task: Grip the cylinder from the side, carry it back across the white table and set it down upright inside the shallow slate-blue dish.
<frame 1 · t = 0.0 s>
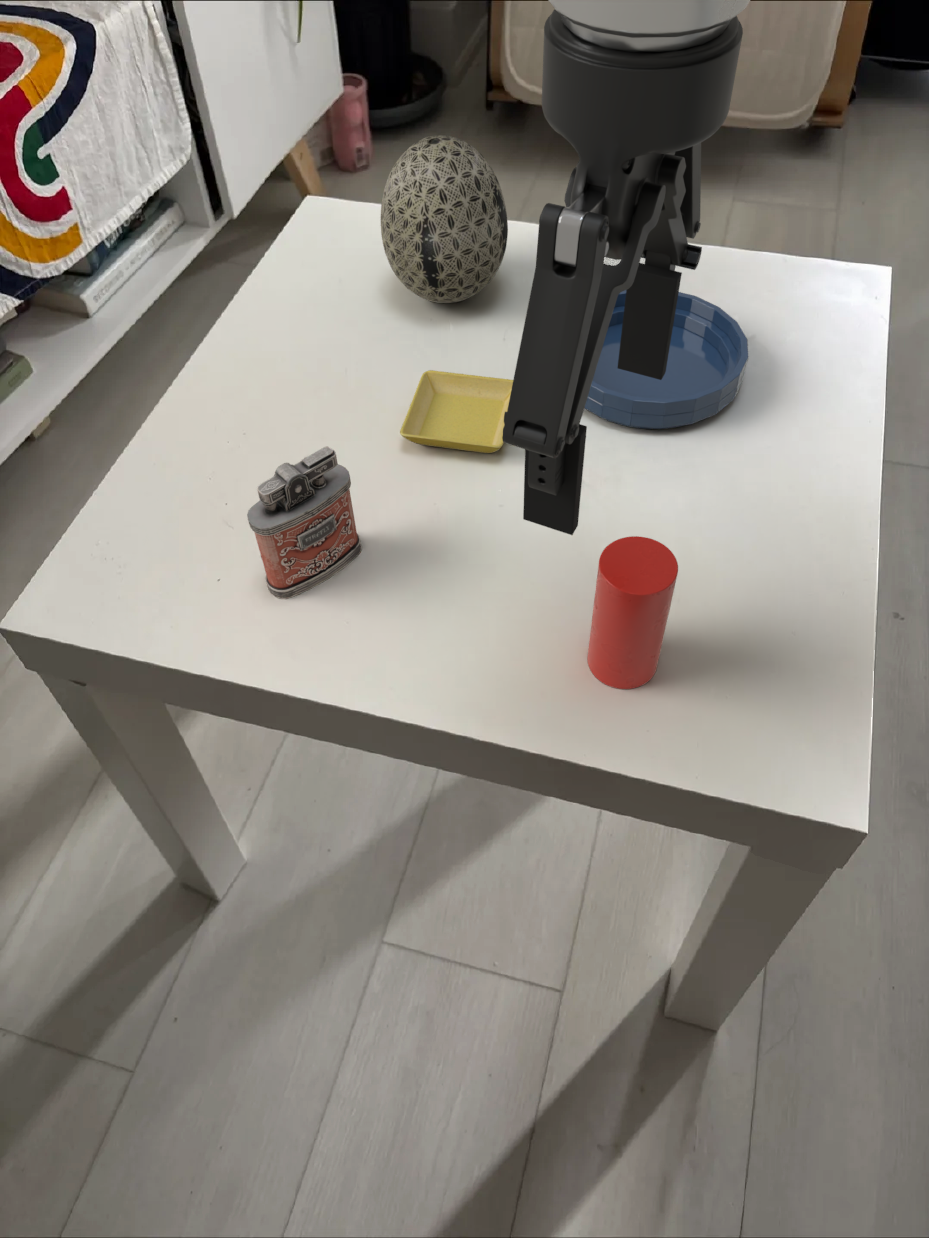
hand: (599, 441, 53), 19 cm above the table, tool pointing down, fingers open, 13 cm apart
lighter: (315, 568, 73), on the table
decorative egg: (447, 295, 95), on the table
saucer: (462, 427, 83), on the table
cylinder: (622, 660, 67), on the table
dish: (647, 375, 86), on the table
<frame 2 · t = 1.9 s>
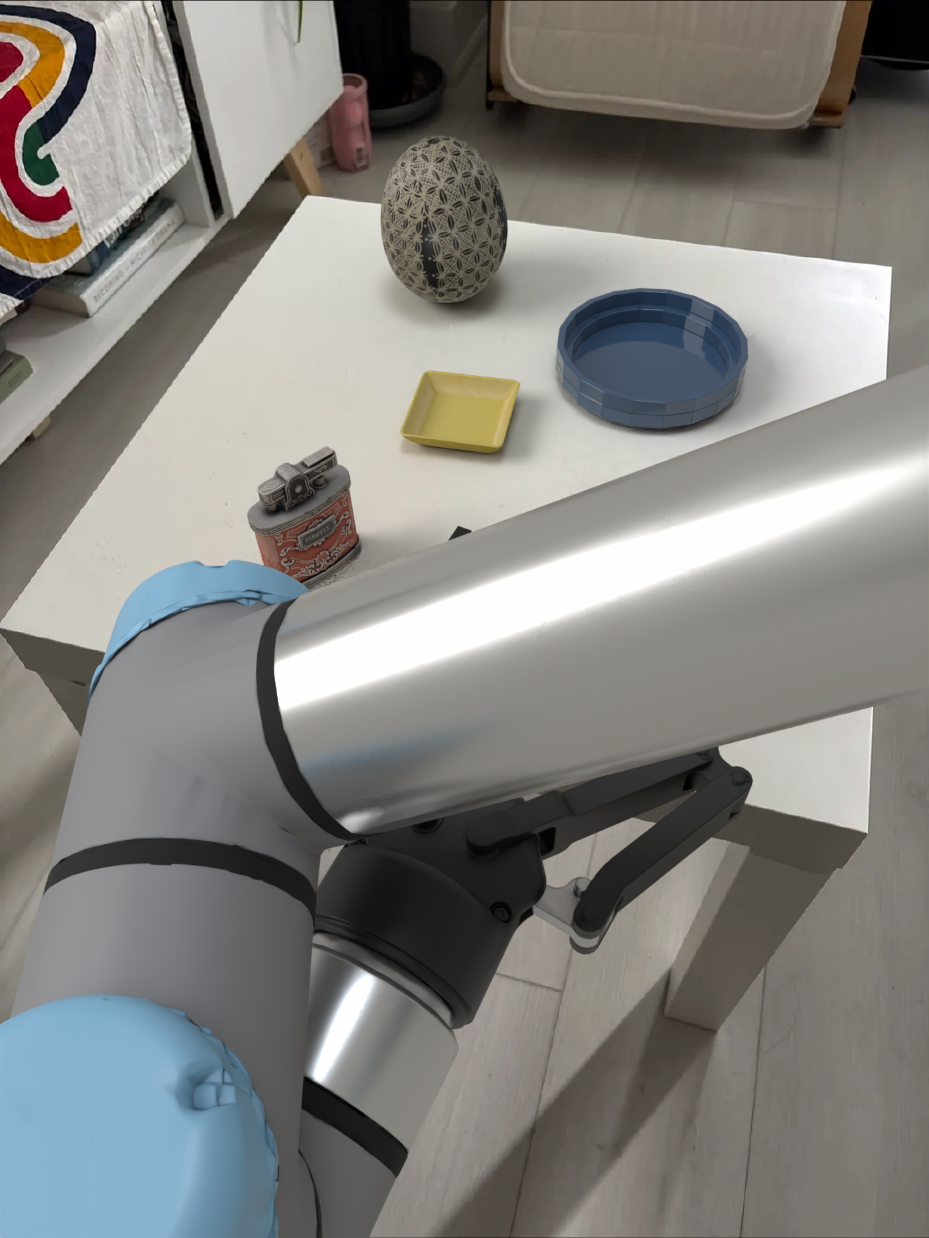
hand: (589, 588, 48), 18 cm above the table, tool horizontal, fingers open, 13 cm apart
nothing on the table moved.
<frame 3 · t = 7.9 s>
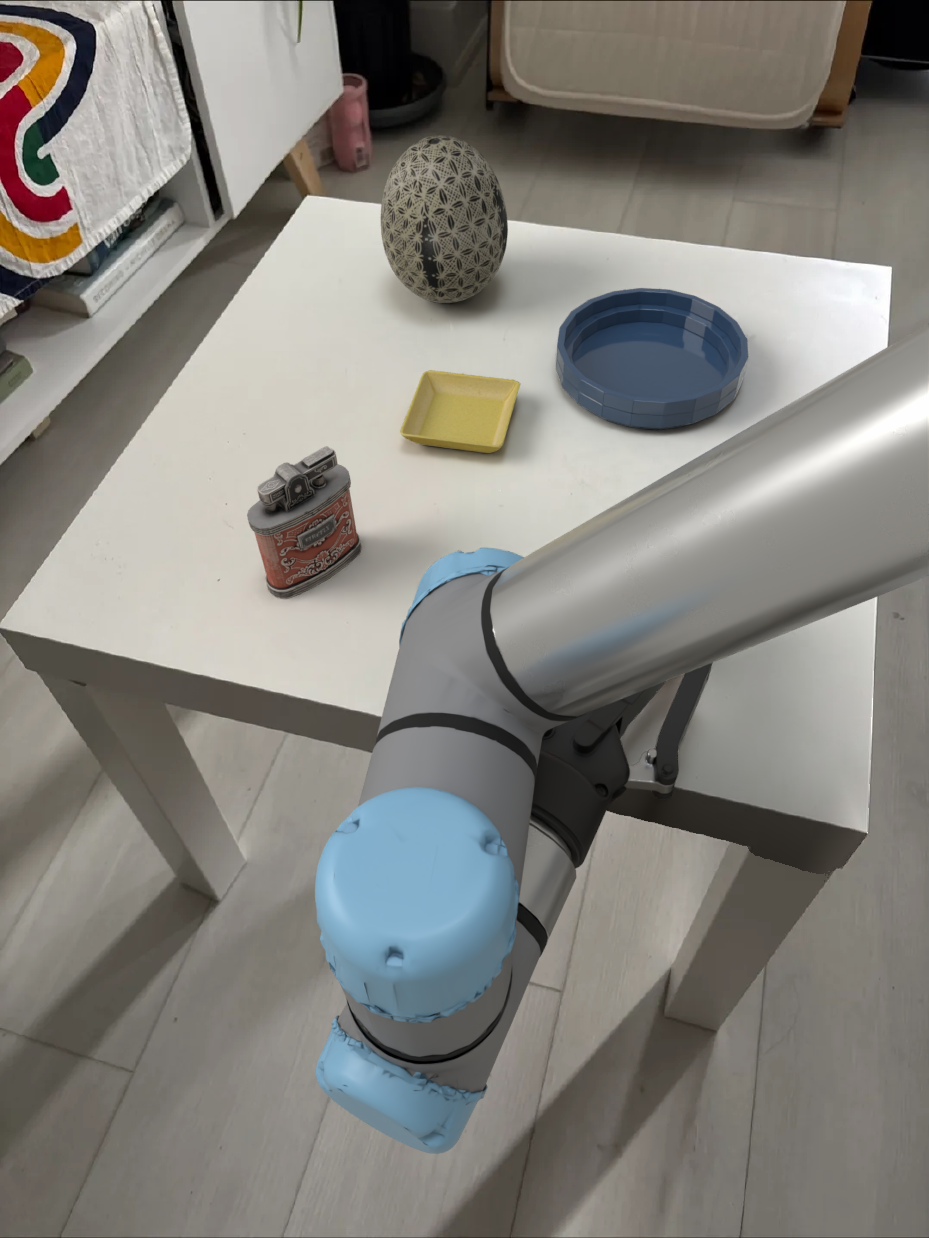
hand: (658, 550, 65), 6 cm above the table, tool horizontal, fingers closed on cylinder, 5 cm apart
cylinder: (622, 660, 67), on the table, touching gripper
everything else where it was.
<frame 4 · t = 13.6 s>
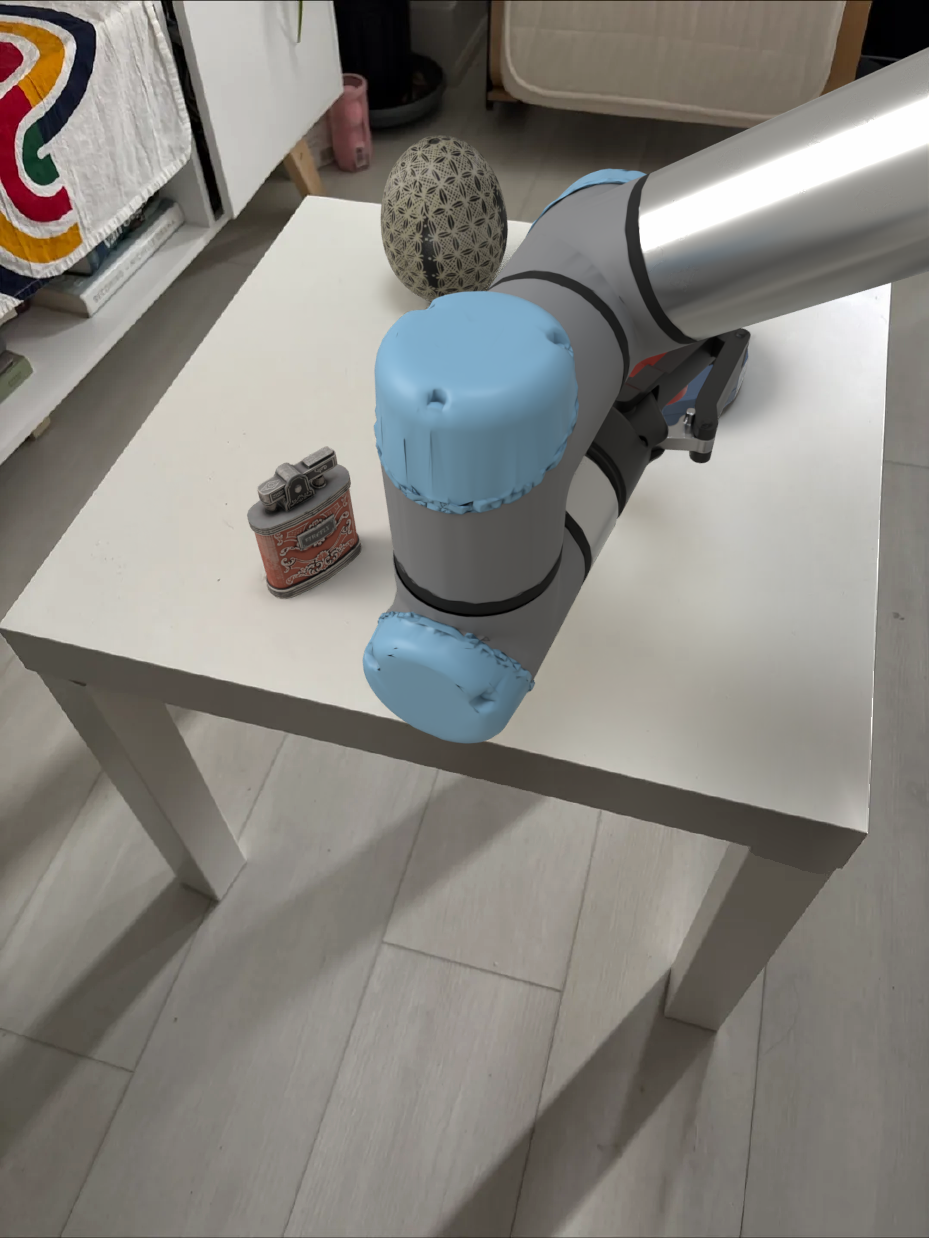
hand: (689, 266, 65), 18 cm above the table, tool horizontal, fingers closed on cylinder, 5 cm apart
cylinder: (652, 384, 67), point 12 cm above the table, touching gripper
everything else where it was.
when the fingers open (7 cm above the table, at t = 19.6 s): cylinder stays where it is, resting on dish.
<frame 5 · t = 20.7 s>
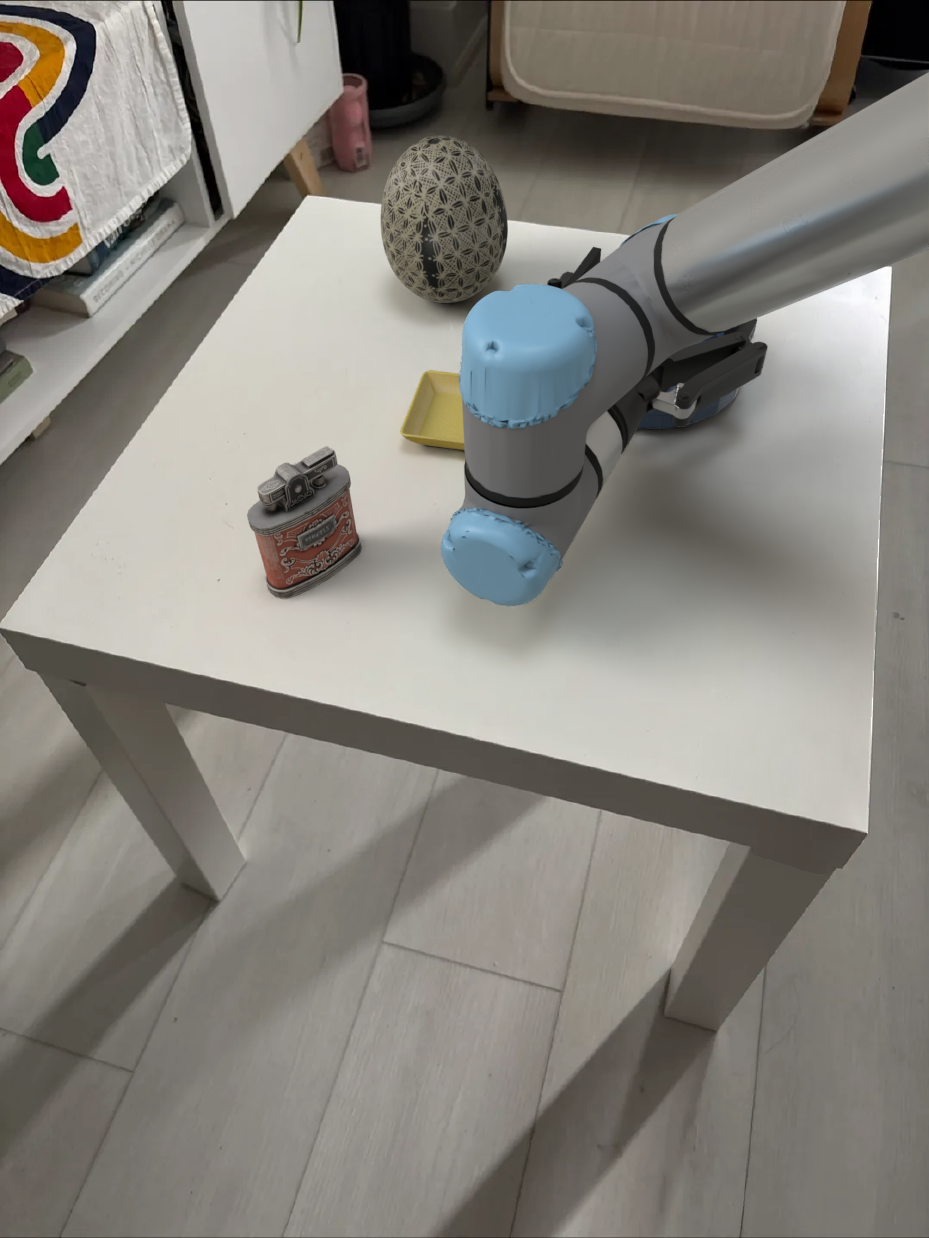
hand: (671, 279, 82), 8 cm above the table, tool horizontal, fingers open, 13 cm apart
cylinder: (648, 367, 86), point 1 cm above the table, touching dish
everything else where it was.
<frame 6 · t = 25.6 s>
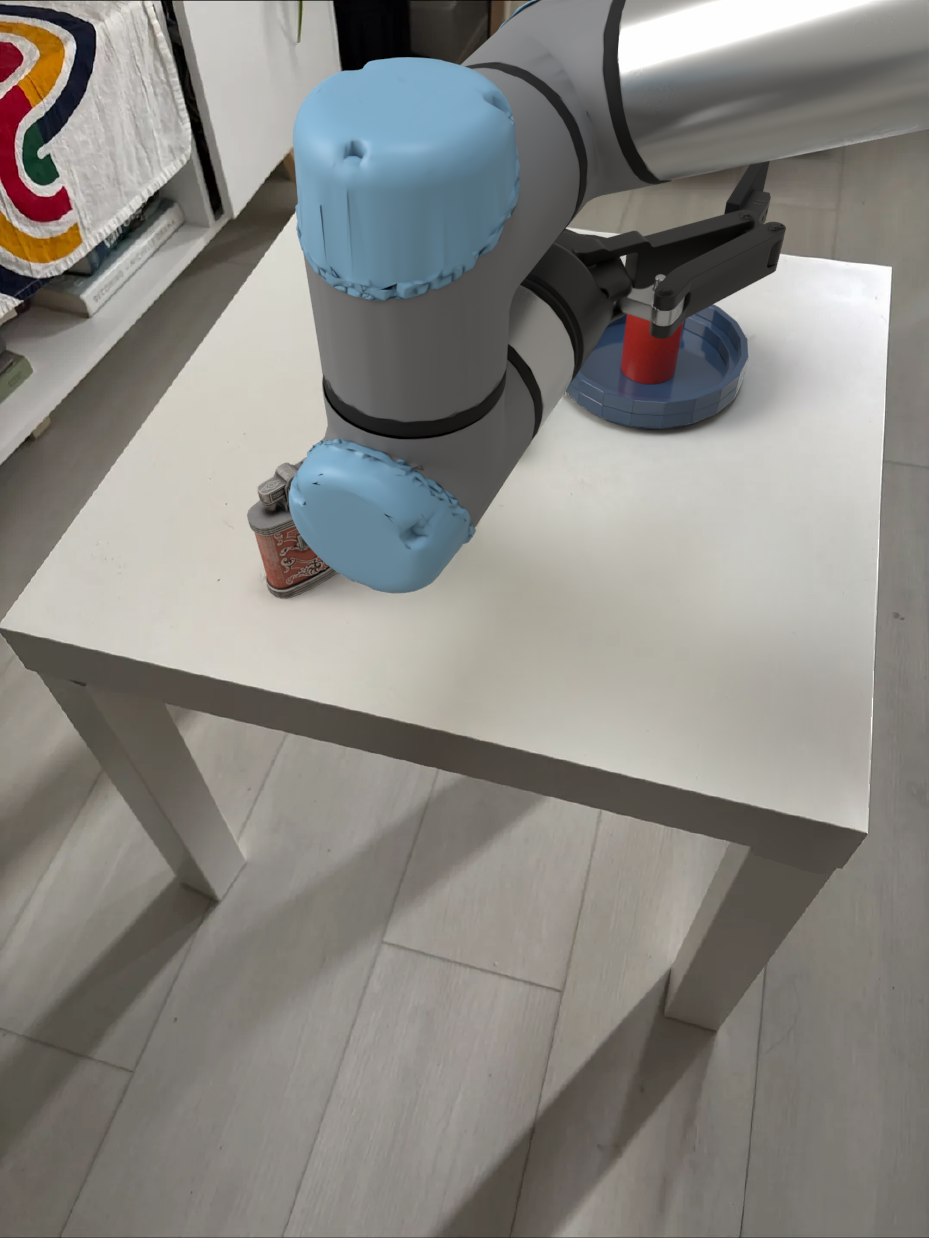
hand: (653, 152, 60), 25 cm above the table, tool horizontal, fingers open, 13 cm apart
nothing on the table moved.
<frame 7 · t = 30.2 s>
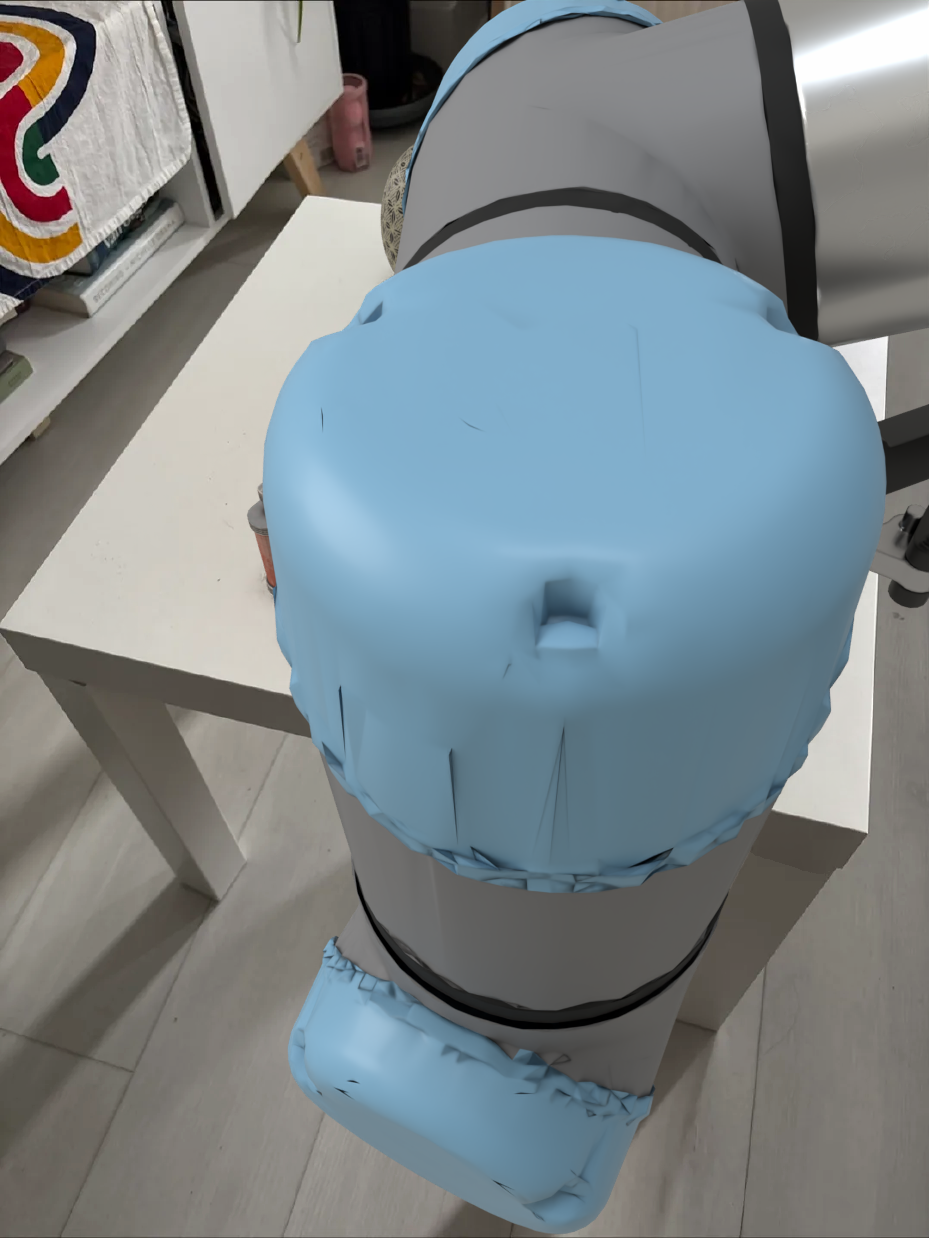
hand: (835, 259, 40), 32 cm above the table, tool horizontal, fingers open, 13 cm apart
nothing on the table moved.
at the end: cylinder inside the target area in the dish (0.0 cm from its centre), point 0.8 cm above the dish's base; the gripper is holding nothing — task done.
